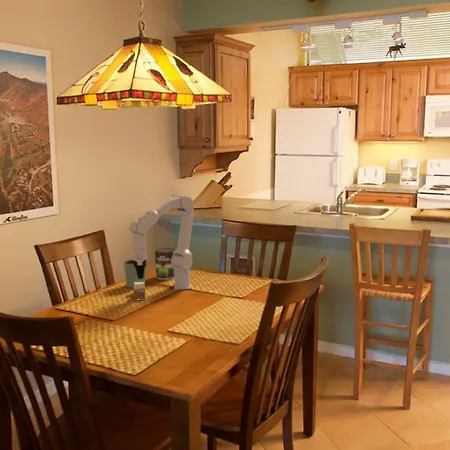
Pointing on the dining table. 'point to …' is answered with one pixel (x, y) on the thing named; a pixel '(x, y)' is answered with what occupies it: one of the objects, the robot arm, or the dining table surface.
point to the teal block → (140, 279)
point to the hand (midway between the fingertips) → (140, 277)
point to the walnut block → (139, 293)
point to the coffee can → (164, 263)
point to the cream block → (139, 285)
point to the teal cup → (130, 273)
